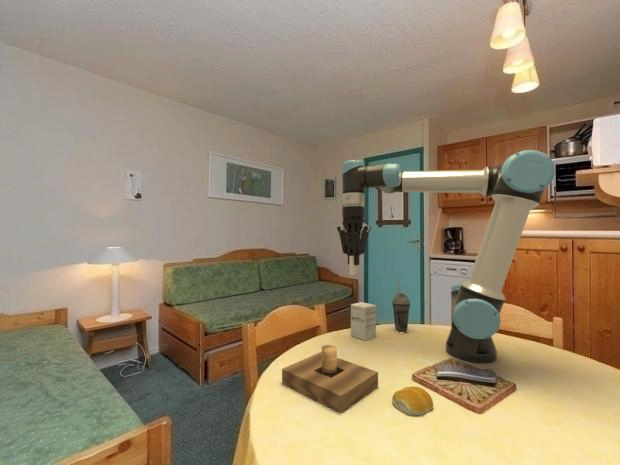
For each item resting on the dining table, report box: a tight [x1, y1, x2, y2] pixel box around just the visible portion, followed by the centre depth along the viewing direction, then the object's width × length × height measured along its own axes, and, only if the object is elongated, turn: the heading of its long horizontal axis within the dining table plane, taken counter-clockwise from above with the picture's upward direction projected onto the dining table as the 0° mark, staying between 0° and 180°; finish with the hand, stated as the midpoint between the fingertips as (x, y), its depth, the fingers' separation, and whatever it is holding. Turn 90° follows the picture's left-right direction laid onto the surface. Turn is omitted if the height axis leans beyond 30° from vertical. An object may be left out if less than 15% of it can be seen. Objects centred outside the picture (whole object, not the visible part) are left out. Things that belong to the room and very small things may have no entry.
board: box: [281, 351, 379, 414], centre depth 81 cm, size 20×16×4 cm
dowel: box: [321, 344, 338, 378], centre depth 81 cm, size 4×4×10 cm
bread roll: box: [392, 386, 434, 416], centre depth 72 cm, size 8×9×4 cm
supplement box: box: [350, 301, 377, 341], centre depth 120 cm, size 7×7×13 cm
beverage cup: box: [391, 282, 411, 333], centre depth 126 cm, size 7×7×20 cm
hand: (353, 274), depth 105 cm, fingers closed
